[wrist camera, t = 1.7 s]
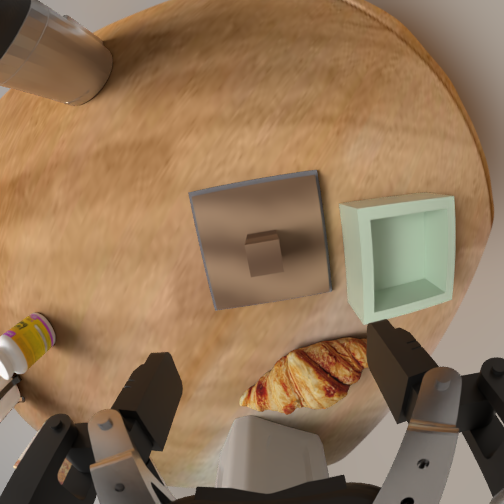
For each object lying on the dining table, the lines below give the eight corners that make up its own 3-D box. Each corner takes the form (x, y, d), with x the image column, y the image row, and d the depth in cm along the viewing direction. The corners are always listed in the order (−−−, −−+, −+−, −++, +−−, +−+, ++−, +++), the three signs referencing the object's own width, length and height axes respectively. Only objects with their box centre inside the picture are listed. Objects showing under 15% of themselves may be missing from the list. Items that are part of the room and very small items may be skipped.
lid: (193, 196, 29) (177, 199, 23) (313, 174, 28) (326, 173, 22) (218, 306, 32) (210, 331, 26) (327, 288, 31) (341, 310, 25)
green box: (338, 203, 29) (357, 208, 23) (425, 192, 28) (454, 196, 22) (347, 301, 32) (363, 325, 26) (427, 282, 31) (451, 299, 25)
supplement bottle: (43, 307, 34) (-6, 344, 22) (62, 342, 35) (19, 385, 23) (26, 315, 35) (-19, 348, 22) (43, 347, 36) (3, 385, 24)
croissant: (252, 391, 40) (263, 435, 34) (216, 374, 34) (226, 429, 28) (375, 334, 37) (397, 378, 31) (366, 302, 30) (396, 357, 24)
